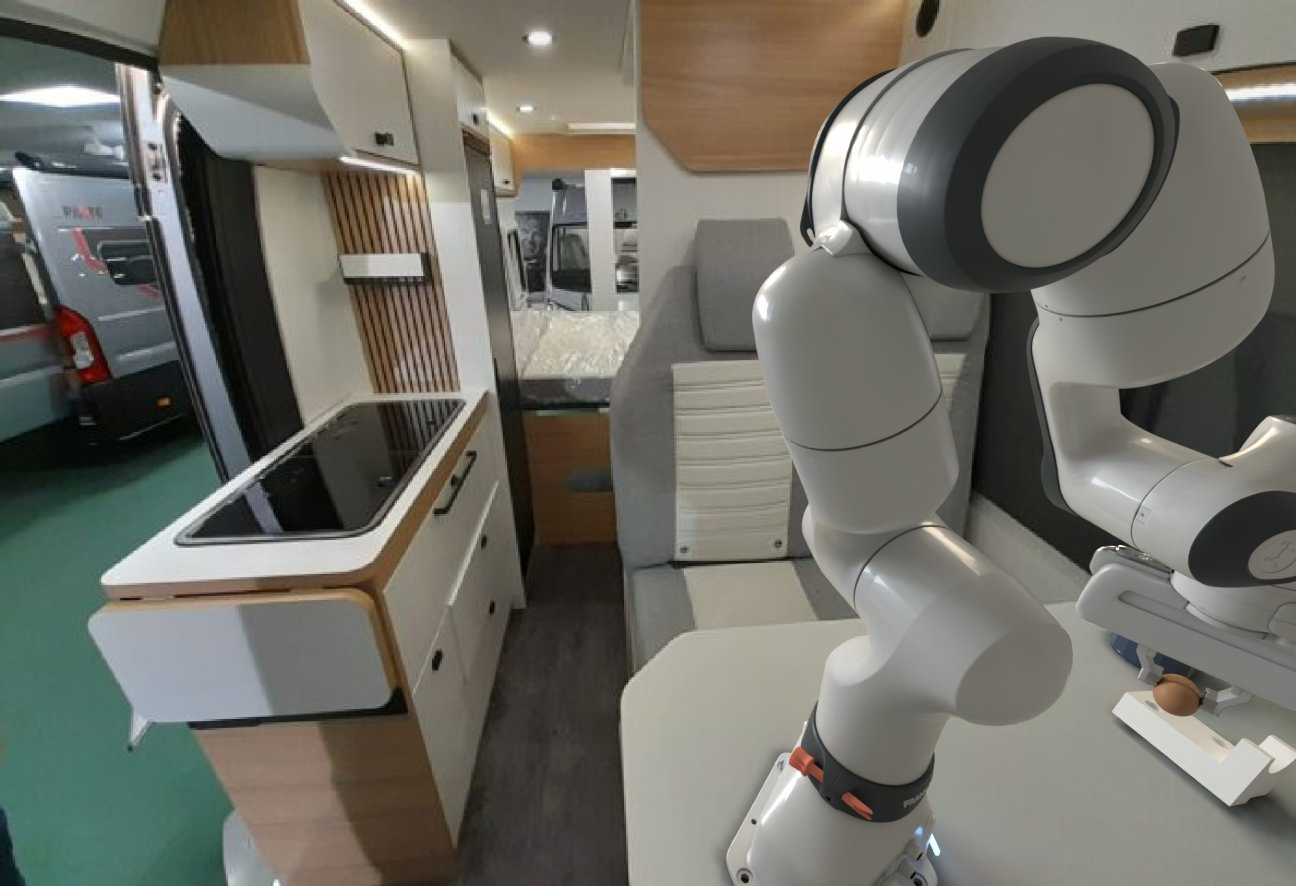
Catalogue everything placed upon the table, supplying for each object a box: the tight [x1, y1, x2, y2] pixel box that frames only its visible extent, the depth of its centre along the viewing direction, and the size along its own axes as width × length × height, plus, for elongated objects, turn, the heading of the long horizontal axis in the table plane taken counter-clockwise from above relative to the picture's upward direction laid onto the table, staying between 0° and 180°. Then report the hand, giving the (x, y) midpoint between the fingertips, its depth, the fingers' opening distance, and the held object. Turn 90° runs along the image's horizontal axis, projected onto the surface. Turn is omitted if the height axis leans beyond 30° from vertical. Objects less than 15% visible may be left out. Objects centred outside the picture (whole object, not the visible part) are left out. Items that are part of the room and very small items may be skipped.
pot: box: [1108, 631, 1197, 679], centre depth 82 cm, size 10×10×8 cm
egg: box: [1152, 674, 1202, 717], centre depth 55 cm, size 5×3×3 cm
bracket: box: [1111, 690, 1296, 807], centre depth 67 cm, size 13×7×8 cm, turn 16°
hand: (1177, 694), depth 55 cm, fingers closed on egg, 3 cm apart
